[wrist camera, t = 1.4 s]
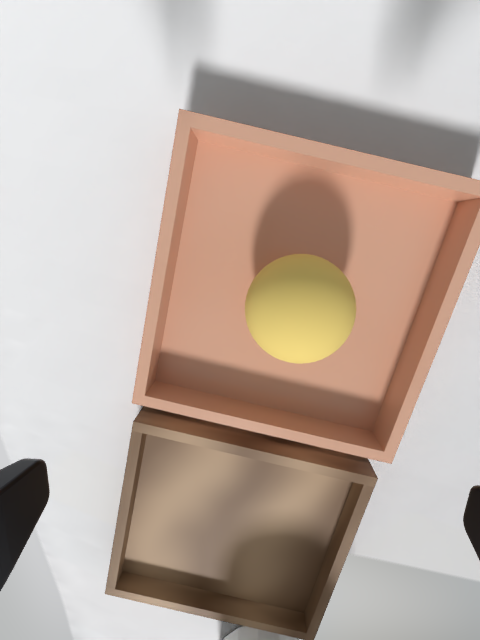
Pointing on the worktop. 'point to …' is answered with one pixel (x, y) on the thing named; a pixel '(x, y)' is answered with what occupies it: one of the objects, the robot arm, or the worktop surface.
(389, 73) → the worktop surface
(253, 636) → the white cup
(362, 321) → the dish
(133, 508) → the tray
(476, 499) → the robot arm
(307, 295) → the ball
